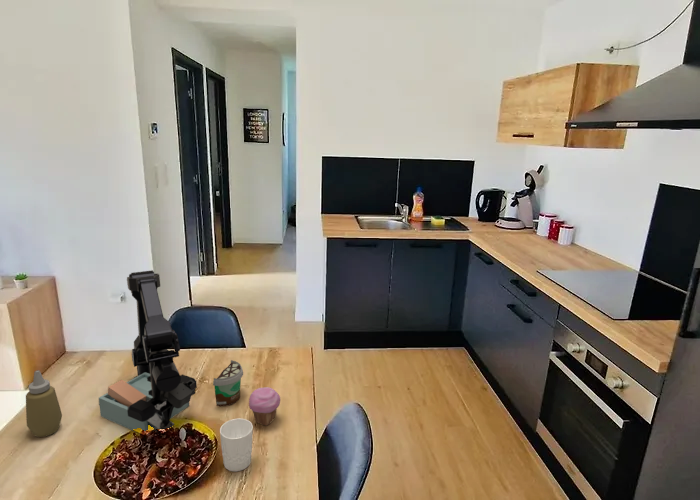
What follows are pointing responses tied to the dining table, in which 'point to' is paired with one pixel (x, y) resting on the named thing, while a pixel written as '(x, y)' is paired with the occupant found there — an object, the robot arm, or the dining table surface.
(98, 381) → the dining table surface
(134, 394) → the salmon orange rectangular block
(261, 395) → the cupcake
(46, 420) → the squeeze bottle
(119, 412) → the jig
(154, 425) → the lever
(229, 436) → the white cup
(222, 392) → the food container
